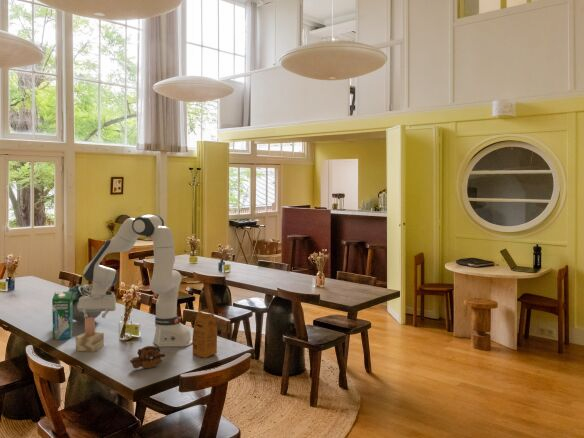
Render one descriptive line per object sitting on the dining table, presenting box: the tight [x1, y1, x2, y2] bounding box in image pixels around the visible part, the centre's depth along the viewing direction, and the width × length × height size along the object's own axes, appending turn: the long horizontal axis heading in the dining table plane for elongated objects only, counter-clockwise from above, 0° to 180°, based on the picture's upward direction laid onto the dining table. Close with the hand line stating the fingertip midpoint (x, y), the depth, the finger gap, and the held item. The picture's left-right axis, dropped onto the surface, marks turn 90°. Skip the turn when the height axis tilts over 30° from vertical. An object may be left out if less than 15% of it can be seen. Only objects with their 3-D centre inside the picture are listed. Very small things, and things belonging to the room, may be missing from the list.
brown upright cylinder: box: [84, 317, 96, 336], centre depth 264 cm, size 5×5×9 cm
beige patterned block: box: [75, 331, 105, 353], centre depth 264 cm, size 10×10×7 cm
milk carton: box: [51, 291, 74, 340], centre depth 282 cm, size 9×9×25 cm
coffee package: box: [192, 310, 218, 359], centre depth 257 cm, size 10×12×22 cm
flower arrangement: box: [66, 283, 103, 325], centre depth 311 cm, size 25×25×24 cm
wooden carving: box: [129, 345, 166, 369], centre depth 238 cm, size 16×5×10 cm, turn 126°
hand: (94, 317), depth 273 cm, fingers open, 8 cm apart
